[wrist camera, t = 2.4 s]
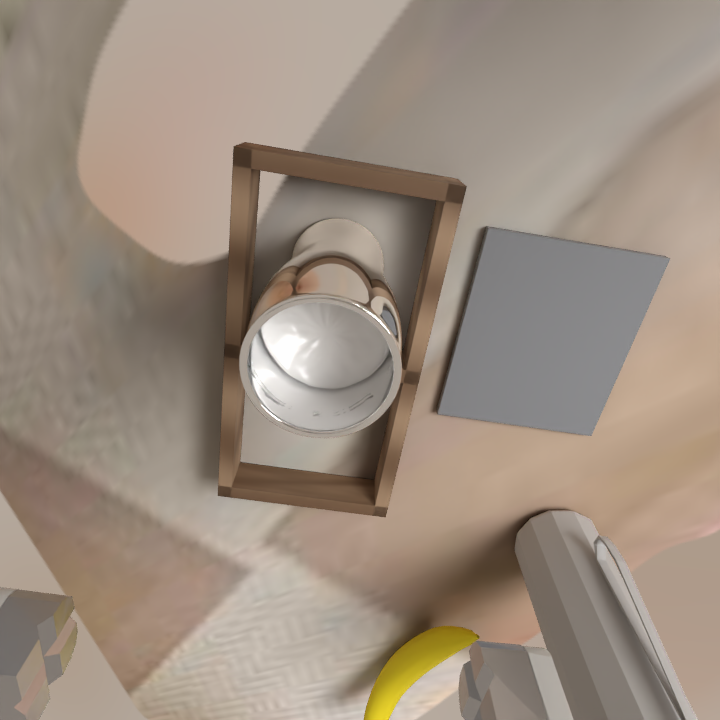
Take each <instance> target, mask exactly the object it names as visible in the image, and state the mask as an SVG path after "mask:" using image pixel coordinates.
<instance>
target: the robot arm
mask: <svg viewBox="0 0 720 720" xmlns="http://www.w3.org/2000/svg"><path fill="white" fill-rule="evenodd" d="M74 608H75V607H74V602H73V597H72V596H65V595H57V594H49V593H41V592H33V591H25V590H19V589H11V588H1V587H0V720H39V718H40V717H41V715H42V713H43V711H44V709H45V707H46V706H47V704H48V702H49V700H50V694H49V688H48V685H49V684H51V683H52V682H53V681H55V680H56V679H57V678H59V677H60V676H61V675H63V673H64V671H65V669H66V667H67V665H68V663H69V661H70V659H71V656H72V653H73V650H74V647H75V644H76V639H77V623H76V622H75V621H74V620H73V619H72V618H71V617H70V615H71V613H72V611H73V610H74ZM469 654H470V659H471V660H470V661H469V662H467V663H465V664H464V665H463V668H462V671H461V674H460V680H459V703H460V710H461V715H462V717H463V718H464V719H465V720H573V717H572V714H571V711H570V708H569V705H568V702H567V699H566V697H565V694H564V691H563V688H562V685H561V682H560V679H559V676H558V673H557V671H556V668H555V665H554V662H553V659H552V656H551V654H550V653H549V651H548V650H547V649H545V648H539V647H528V646H521V645H516V644H505V643H495V642H484V641H475V642H474V643H472V645H471V648H470V650H469Z"/></svg>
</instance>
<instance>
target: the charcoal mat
mask: <svg viewBox="0 0 720 720" xmlns="http://www.w3.org/2000/svg"><path fill="white" fill-rule="evenodd" d="M669 260H670V258H668V257H666V256H661V255H655V254H649V253H643V252H637V251H631V250H625V249H619V248H613V247H607V246H601V245H595V244H589V243H583V242H577V241H571V240H565V239H559V238H553V237H547V236H542V235H536V234H530V233H524V232H518V231H512V230H506V229H500V228H494V227H488V226H487V227H486V230H485V234H484V238H483V241H482V245H481V249H480V252H479V256H478V260H477V263H476V267H475V271H474V274H473V278H472V282H471V286H470V289H469V293H468V297H467V300H466V304H465V308H464V311H463V315H462V319H461V322H460V326H459V330H458V333H457V337H456V341H455V344H454V348H453V352H452V356H451V359H450V363H449V367H448V370H447V374H446V378H445V381H444V385H443V389H442V392H441V396H440V400H439V403H438V407H437V413H438V414H440V415H447V416H454V417H461V418H469V419H476V420H483V421H490V422H497V423H504V424H511V425H518V426H525V427H532V428H539V429H546V430H553V431H560V432H567V433H574V434H581V435H588V436H591V435H592V433H593V431H594V428H595V426H596V424H597V422H598V420H599V417H600V415H601V413H602V411H603V408H604V406H605V404H606V402H607V399H608V397H609V395H610V393H611V390H612V388H613V386H614V384H615V381H616V379H617V377H618V375H619V372H620V370H621V368H622V366H623V363H624V361H625V359H626V357H627V354H628V352H629V350H630V348H631V345H632V343H633V341H634V339H635V336H636V334H637V332H638V330H639V328H640V325H641V323H642V321H643V319H644V316H645V314H646V312H647V310H648V307H649V305H650V303H651V301H652V298H653V296H654V294H655V292H656V289H657V287H658V285H659V283H660V280H661V278H662V276H663V274H664V271H665V269H666V267H667V265H668V262H669Z"/></svg>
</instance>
